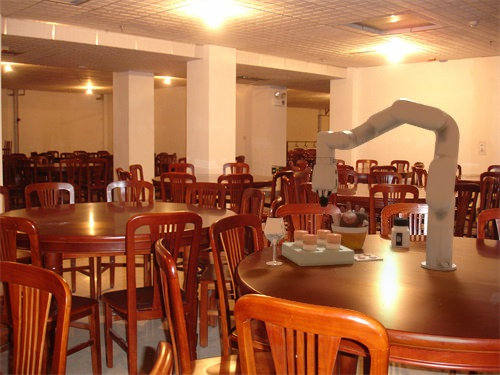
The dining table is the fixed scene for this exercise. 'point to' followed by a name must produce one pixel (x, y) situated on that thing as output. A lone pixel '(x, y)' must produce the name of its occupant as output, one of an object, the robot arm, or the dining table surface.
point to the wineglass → (274, 234)
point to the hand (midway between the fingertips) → (323, 206)
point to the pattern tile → (366, 257)
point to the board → (317, 255)
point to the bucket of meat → (351, 227)
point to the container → (400, 233)
